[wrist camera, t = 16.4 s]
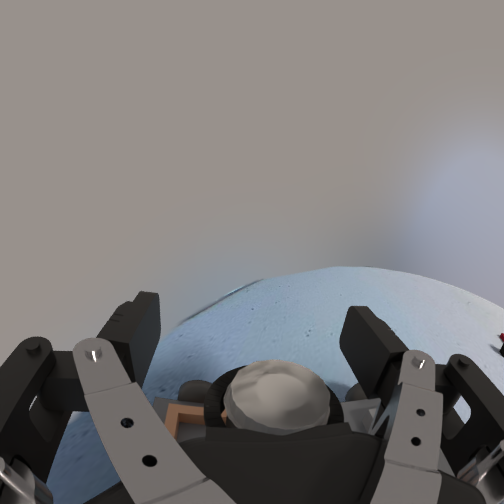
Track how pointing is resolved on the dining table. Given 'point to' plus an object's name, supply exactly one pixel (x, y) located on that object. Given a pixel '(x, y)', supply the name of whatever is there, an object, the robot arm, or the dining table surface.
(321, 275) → the dining table surface
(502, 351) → the red board with handle
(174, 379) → the dining table surface
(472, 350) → the dining table surface
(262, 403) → the push button
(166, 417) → the chassis
